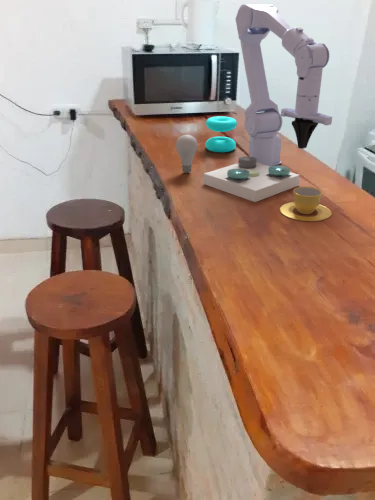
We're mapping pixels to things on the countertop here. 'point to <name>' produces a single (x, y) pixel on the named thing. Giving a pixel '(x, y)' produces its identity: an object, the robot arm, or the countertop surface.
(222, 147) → the donuts
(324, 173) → the countertop surface
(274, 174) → the disc
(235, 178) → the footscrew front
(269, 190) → the instrument base
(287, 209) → the cup
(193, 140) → the lightbulb
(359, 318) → the countertop surface
